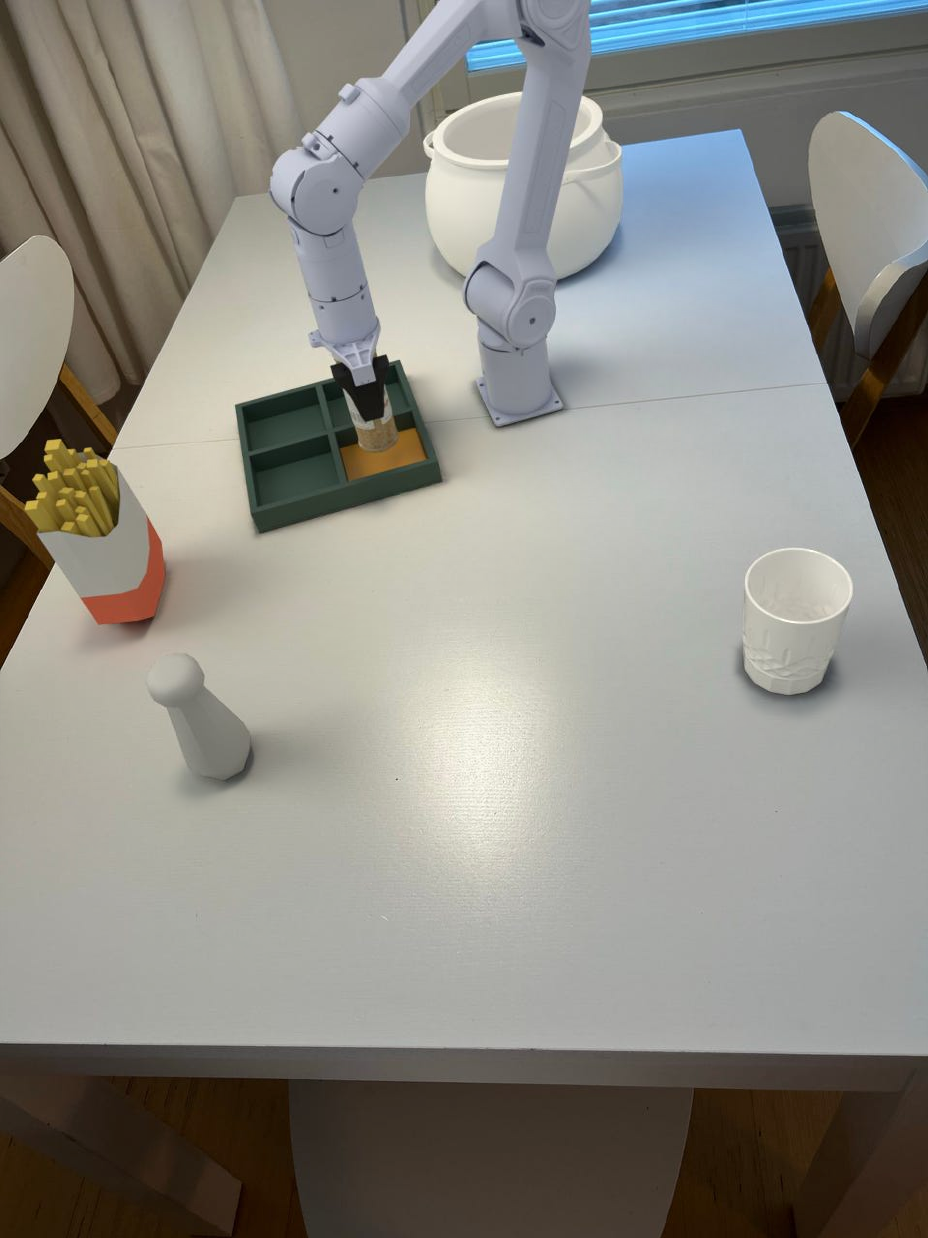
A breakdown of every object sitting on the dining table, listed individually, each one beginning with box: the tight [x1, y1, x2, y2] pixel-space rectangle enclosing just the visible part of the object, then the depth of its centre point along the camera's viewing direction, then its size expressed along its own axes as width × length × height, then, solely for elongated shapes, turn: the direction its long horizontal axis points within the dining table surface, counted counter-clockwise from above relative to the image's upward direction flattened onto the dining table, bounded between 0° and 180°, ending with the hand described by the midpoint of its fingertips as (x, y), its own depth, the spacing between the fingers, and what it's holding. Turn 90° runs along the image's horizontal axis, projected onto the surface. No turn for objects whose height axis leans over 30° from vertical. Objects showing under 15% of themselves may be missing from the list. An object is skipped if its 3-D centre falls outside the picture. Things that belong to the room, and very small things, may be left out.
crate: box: [234, 359, 443, 534], centre depth 106 cm, size 20×20×3 cm
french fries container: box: [24, 438, 166, 626], centre depth 90 cm, size 5×11×18 cm, turn 0°
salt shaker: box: [144, 652, 252, 782], centre depth 77 cm, size 6×6×13 cm
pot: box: [422, 91, 624, 281], centre depth 125 cm, size 29×26×16 cm
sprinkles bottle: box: [330, 348, 399, 453], centre depth 97 cm, size 5×5×13 cm
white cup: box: [742, 547, 854, 696], centre depth 76 cm, size 8×8×10 cm
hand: (369, 404), depth 98 cm, fingers closed on sprinkles bottle, 4 cm apart
